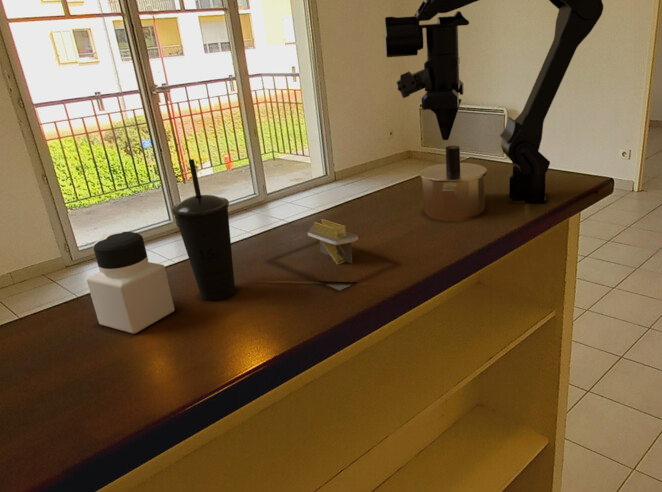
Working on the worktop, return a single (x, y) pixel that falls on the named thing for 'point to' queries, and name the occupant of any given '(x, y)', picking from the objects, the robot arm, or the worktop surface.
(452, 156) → the lid
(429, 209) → the pot
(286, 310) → the worktop surface
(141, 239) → the medicine bottle
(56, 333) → the worktop surface
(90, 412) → the worktop surface
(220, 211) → the drinking cup
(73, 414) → the worktop surface
